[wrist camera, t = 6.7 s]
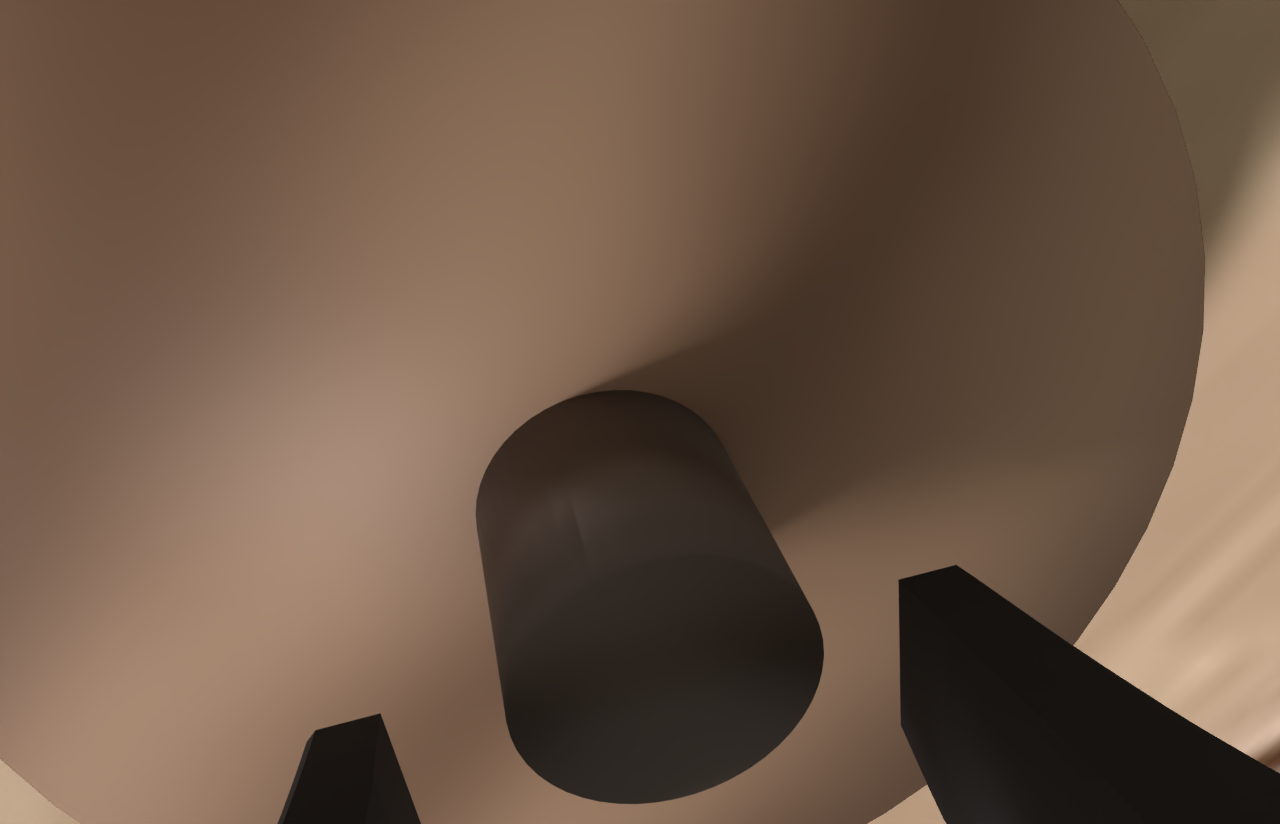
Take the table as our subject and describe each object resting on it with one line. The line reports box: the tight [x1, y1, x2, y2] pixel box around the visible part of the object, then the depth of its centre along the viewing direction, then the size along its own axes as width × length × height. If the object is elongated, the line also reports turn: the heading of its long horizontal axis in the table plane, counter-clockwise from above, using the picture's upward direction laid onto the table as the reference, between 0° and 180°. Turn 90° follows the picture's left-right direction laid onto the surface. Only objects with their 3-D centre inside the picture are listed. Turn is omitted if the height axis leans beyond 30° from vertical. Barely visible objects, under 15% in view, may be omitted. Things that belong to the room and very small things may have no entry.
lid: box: [0, 0, 1205, 824], centre depth 12 cm, size 15×15×4 cm
